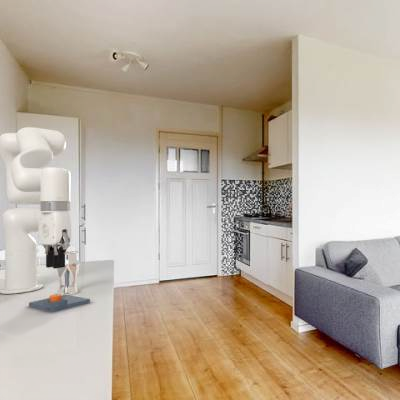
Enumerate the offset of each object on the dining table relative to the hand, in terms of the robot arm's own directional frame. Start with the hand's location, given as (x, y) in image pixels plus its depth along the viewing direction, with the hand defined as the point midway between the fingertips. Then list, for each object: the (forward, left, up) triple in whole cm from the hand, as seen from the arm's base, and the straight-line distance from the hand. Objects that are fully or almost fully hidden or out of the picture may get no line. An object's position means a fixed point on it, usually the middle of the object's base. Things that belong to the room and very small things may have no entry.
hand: (55, 266), depth 105 cm
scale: (-5, +4, -13) cm, 14 cm away
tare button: (0, 0, -11) cm, 11 cm away
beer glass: (-19, +14, -13) cm, 27 cm away
